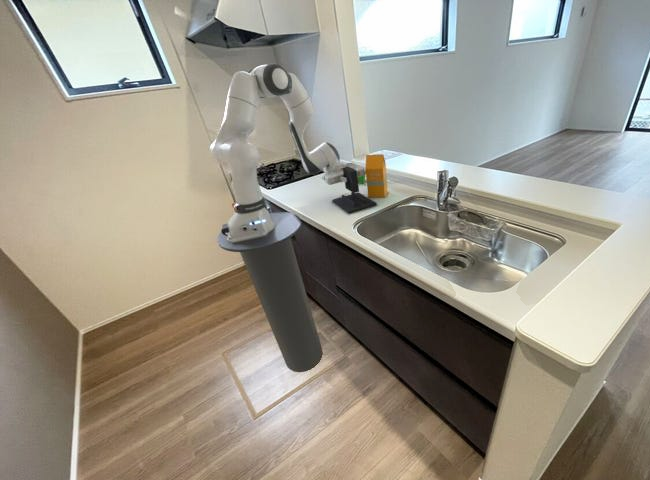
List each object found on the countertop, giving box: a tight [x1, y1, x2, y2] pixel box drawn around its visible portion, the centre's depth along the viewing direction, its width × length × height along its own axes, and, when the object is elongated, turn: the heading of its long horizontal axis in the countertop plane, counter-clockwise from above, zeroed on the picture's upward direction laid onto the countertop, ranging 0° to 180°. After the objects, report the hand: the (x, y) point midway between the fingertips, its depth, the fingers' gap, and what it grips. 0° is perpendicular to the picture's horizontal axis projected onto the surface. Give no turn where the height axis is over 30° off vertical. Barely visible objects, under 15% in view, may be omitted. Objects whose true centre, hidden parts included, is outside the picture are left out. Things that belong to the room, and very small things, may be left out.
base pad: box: [332, 192, 378, 215], centre depth 147 cm, size 15×20×3 cm
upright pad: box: [343, 167, 360, 193], centre depth 141 cm, size 3×9×10 cm, turn 29°
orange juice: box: [364, 153, 388, 199], centre depth 149 cm, size 8×9×20 cm
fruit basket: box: [355, 163, 366, 184], centre depth 172 cm, size 11×9×11 cm
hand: (351, 179), depth 140 cm, fingers closed on upright pad, 3 cm apart
